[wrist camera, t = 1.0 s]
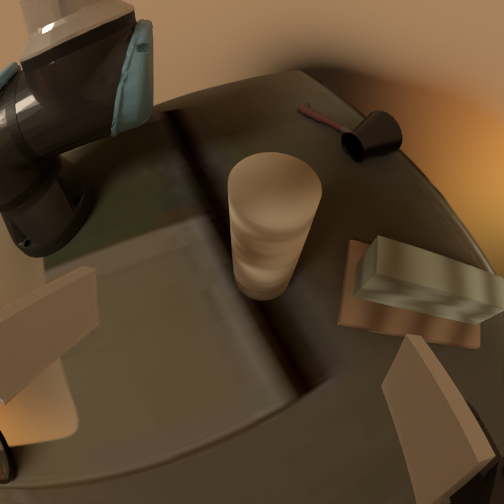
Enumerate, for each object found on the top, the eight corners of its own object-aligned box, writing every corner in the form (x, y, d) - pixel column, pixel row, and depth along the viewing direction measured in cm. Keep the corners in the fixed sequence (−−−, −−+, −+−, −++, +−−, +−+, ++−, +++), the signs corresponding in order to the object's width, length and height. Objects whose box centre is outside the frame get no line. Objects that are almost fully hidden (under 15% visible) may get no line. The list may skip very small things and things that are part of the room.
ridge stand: (336, 324, 27) (362, 302, 21) (347, 243, 31) (369, 207, 25) (475, 349, 25) (511, 334, 18) (473, 281, 29) (503, 258, 23)
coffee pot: (399, 158, 39) (367, 178, 38) (329, 112, 49) (296, 126, 47) (407, 123, 33) (373, 140, 32) (328, 80, 42) (293, 92, 41)
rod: (222, 273, 29) (208, 181, 17) (261, 239, 31) (272, 141, 19) (262, 312, 27) (278, 240, 15) (301, 274, 29) (339, 186, 17)
